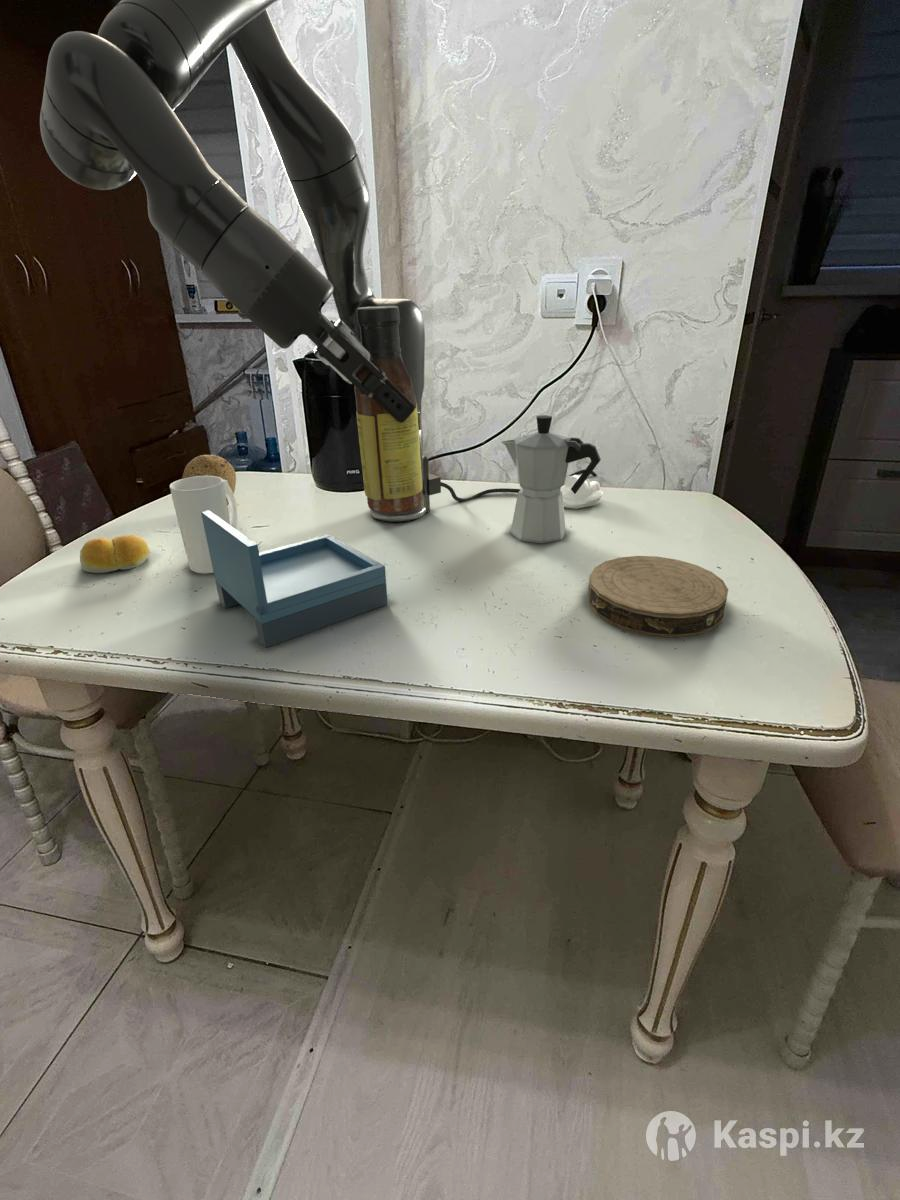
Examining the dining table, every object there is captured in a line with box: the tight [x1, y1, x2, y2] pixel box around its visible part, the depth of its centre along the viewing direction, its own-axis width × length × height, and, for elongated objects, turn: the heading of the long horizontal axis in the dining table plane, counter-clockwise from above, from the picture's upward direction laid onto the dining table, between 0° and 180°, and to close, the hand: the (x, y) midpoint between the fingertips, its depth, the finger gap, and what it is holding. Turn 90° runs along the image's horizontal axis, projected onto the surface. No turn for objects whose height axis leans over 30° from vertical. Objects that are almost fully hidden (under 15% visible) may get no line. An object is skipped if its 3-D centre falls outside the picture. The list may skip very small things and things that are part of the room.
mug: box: [168, 476, 238, 575], centre depth 87 cm, size 10×7×12 cm, turn 159°
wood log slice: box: [587, 555, 729, 638], centre depth 75 cm, size 16×16×3 cm
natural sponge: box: [181, 454, 237, 507], centre depth 107 cm, size 9×9×10 cm
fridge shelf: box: [201, 510, 389, 648], centre depth 75 cm, size 16×14×12 cm
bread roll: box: [79, 534, 151, 574], centre depth 89 cm, size 8×9×4 cm
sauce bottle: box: [353, 306, 422, 514], centre depth 64 cm, size 6×6×20 cm
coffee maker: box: [500, 414, 602, 544], centre depth 93 cm, size 15×9×18 cm, turn 68°
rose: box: [560, 474, 603, 510], centre depth 111 cm, size 10×4×10 cm
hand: (403, 408), depth 64 cm, fingers closed on sauce bottle, 6 cm apart
